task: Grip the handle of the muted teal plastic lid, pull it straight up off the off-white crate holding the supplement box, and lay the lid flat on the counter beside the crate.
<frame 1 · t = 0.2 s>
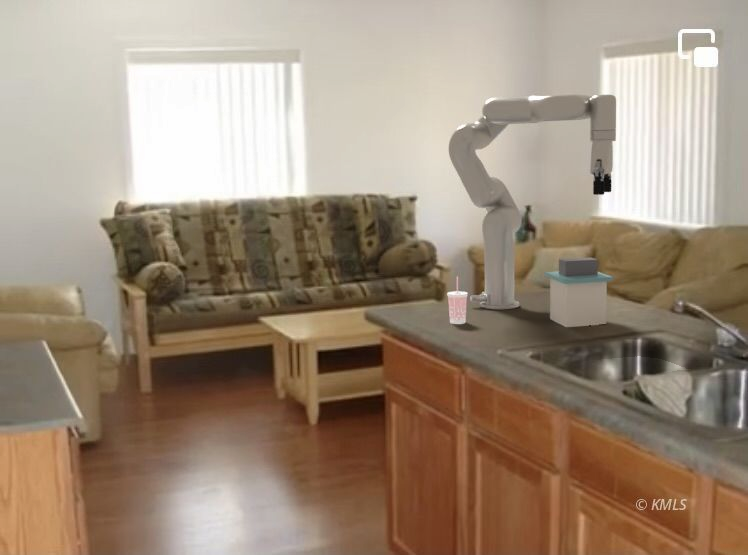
hand: (602, 193, 304), 37 cm above the countertop, tool pointing down, fingers open, 9 cm apart
supplement box: (577, 322, 297), resting in off-white crate
beverage cup: (457, 323, 300), on the countertop
teal lid: (578, 281, 295), point 12 cm above the countertop, touching off-white crate
off-white crate: (577, 321, 297), on the countertop
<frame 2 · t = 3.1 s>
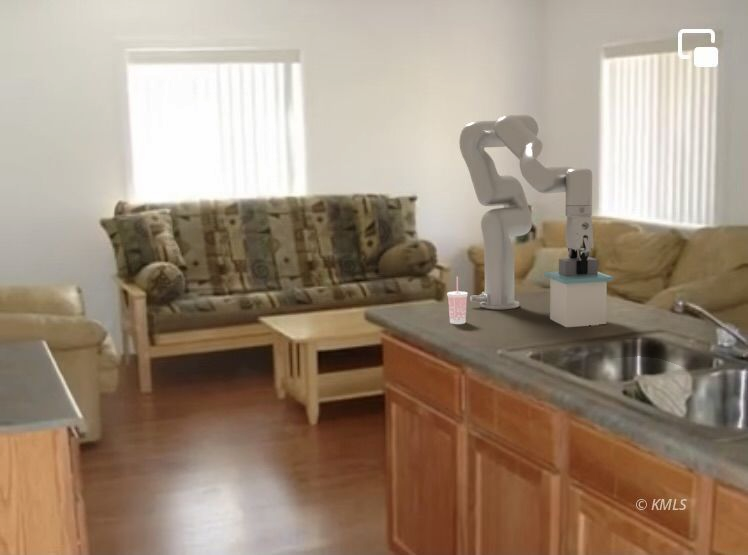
hand: (578, 271, 294), 15 cm above the countertop, tool pointing down, fingers closed on teal lid, 5 cm apart
teal lid: (578, 281, 295), point 12 cm above the countertop, touching gripper, off-white crate
everything else where it was.
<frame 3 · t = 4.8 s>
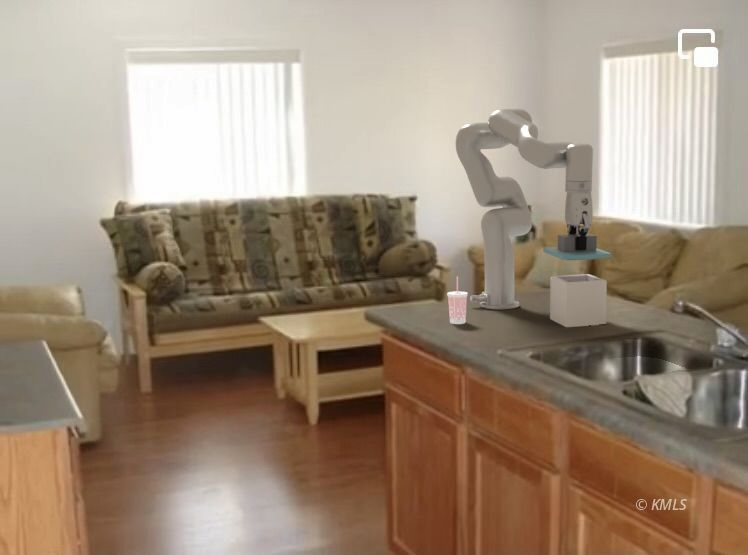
hand: (576, 248, 294), 22 cm above the countertop, tool pointing down, fingers closed on teal lid, 5 cm apart
teal lid: (576, 257, 294), point 19 cm above the countertop, touching gripper
everything else where it was.
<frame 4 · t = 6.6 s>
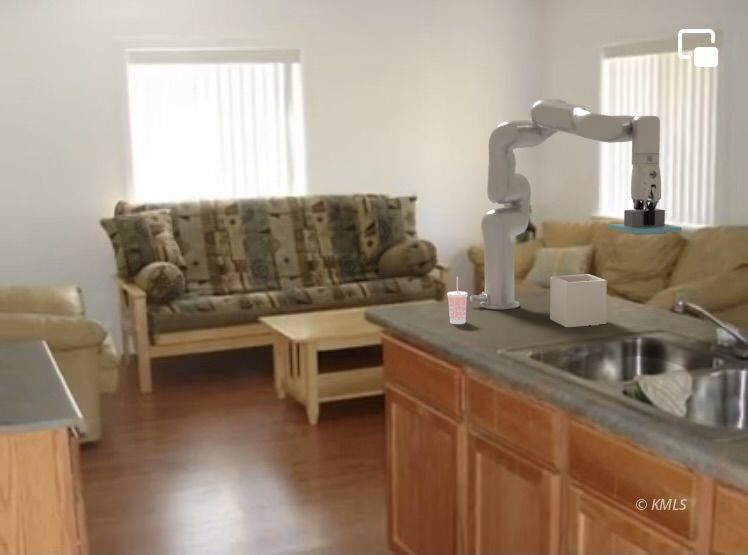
hand: (644, 223, 286), 30 cm above the countertop, tool pointing down, fingers closed on teal lid, 5 cm apart
teal lid: (644, 232, 286), point 27 cm above the countertop, touching gripper
everything else where it was.
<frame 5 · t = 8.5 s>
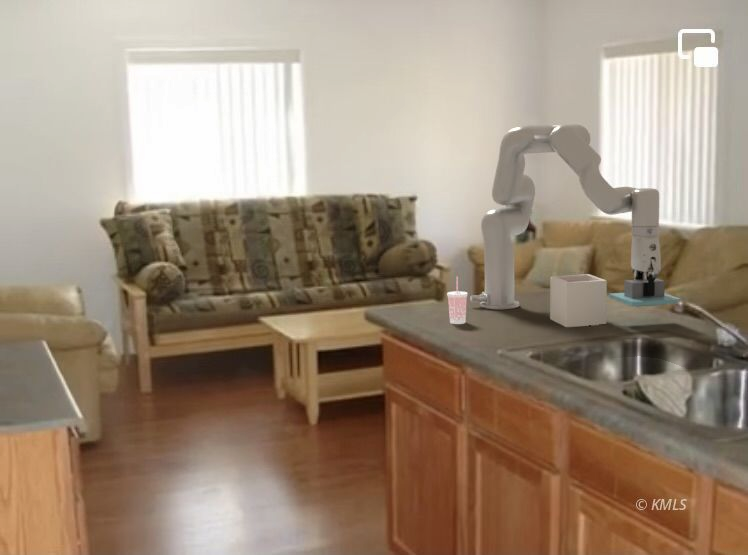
hand: (644, 293, 289), 9 cm above the countertop, tool pointing down, fingers closed on teal lid, 5 cm apart
teal lid: (644, 303, 289), point 6 cm above the countertop, touching gripper
everything else where it was.
when the fingers open (4 cm above the countertop, at t = 10.0 s): teal lid drops 2 cm, on the countertop.
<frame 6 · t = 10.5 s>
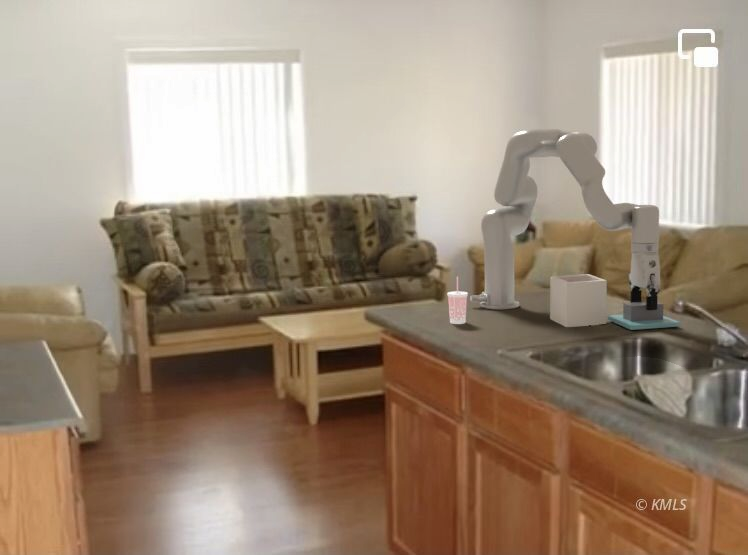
hand: (643, 306, 289), 5 cm above the countertop, tool pointing down, fingers open, 9 cm apart
teal lid: (642, 325, 290), on the countertop
everything else where it was.
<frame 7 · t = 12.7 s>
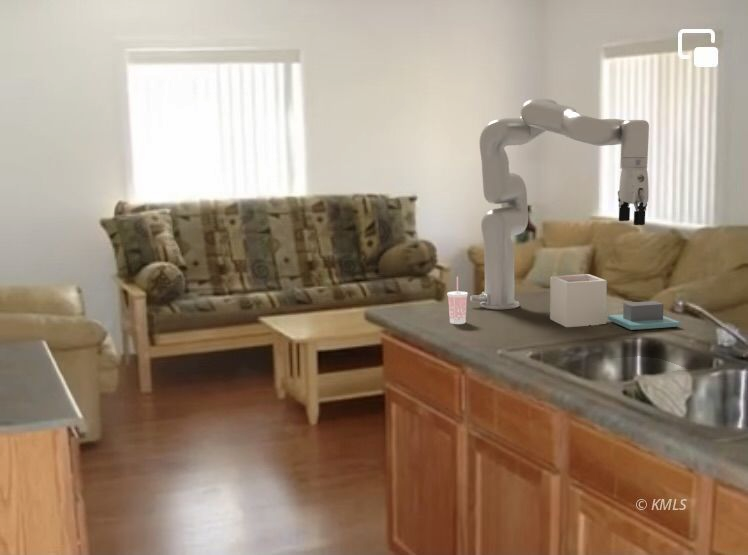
hand: (631, 222, 290), 29 cm above the countertop, tool pointing down, fingers open, 9 cm apart
nothing on the countertop moved.
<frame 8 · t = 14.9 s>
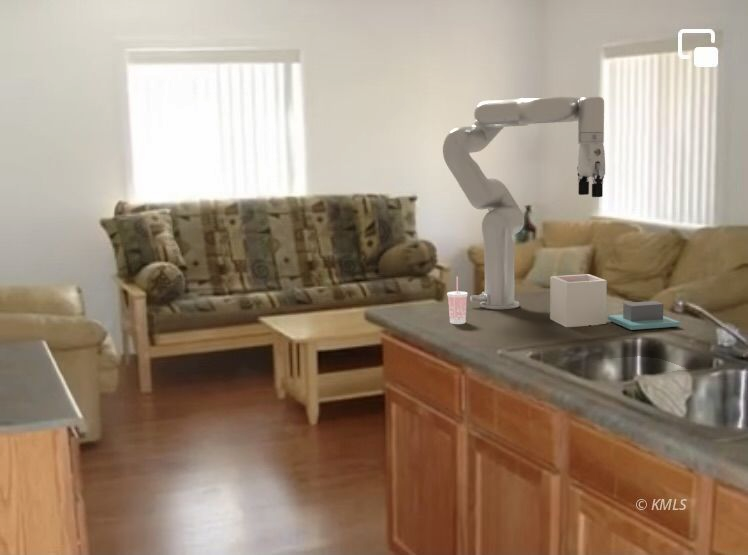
hand: (590, 195, 302), 36 cm above the countertop, tool pointing down, fingers open, 9 cm apart
nothing on the countertop moved.
at the end: teal lid inside the target area (0.1 cm from its centre), on the countertop; teal lid tilted 0°; the gripper is holding nothing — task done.
